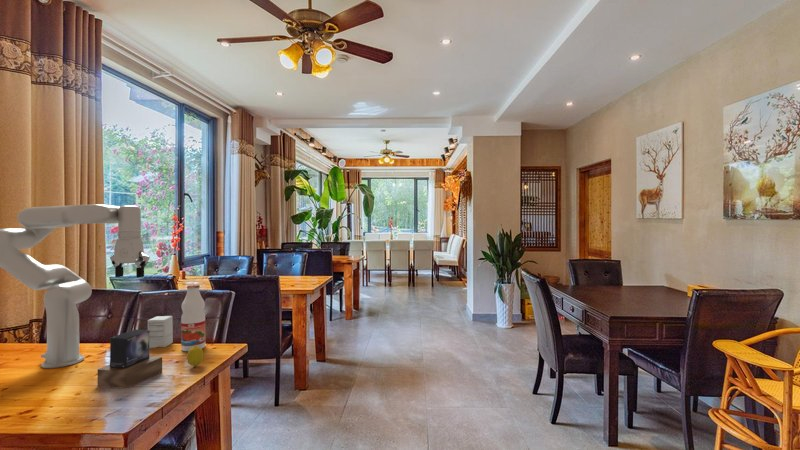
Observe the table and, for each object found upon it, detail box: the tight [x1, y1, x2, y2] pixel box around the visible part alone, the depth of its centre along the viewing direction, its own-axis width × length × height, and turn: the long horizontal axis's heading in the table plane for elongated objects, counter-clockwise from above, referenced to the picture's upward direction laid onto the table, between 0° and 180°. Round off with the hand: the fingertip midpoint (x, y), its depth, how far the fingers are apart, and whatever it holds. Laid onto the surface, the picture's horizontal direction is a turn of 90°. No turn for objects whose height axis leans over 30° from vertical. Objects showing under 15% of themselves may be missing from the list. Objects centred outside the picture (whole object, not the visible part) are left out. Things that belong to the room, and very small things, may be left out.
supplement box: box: [147, 315, 174, 349], centre depth 166 cm, size 7×7×13 cm
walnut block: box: [97, 355, 163, 390], centre depth 129 cm, size 12×14×6 cm
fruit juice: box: [180, 283, 206, 352], centre depth 162 cm, size 9×9×28 cm
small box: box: [109, 329, 150, 368], centre depth 129 cm, size 11×6×10 cm, turn 173°
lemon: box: [186, 346, 205, 368], centre depth 140 cm, size 6×6×8 cm
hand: (129, 277), depth 151 cm, fingers open, 9 cm apart
